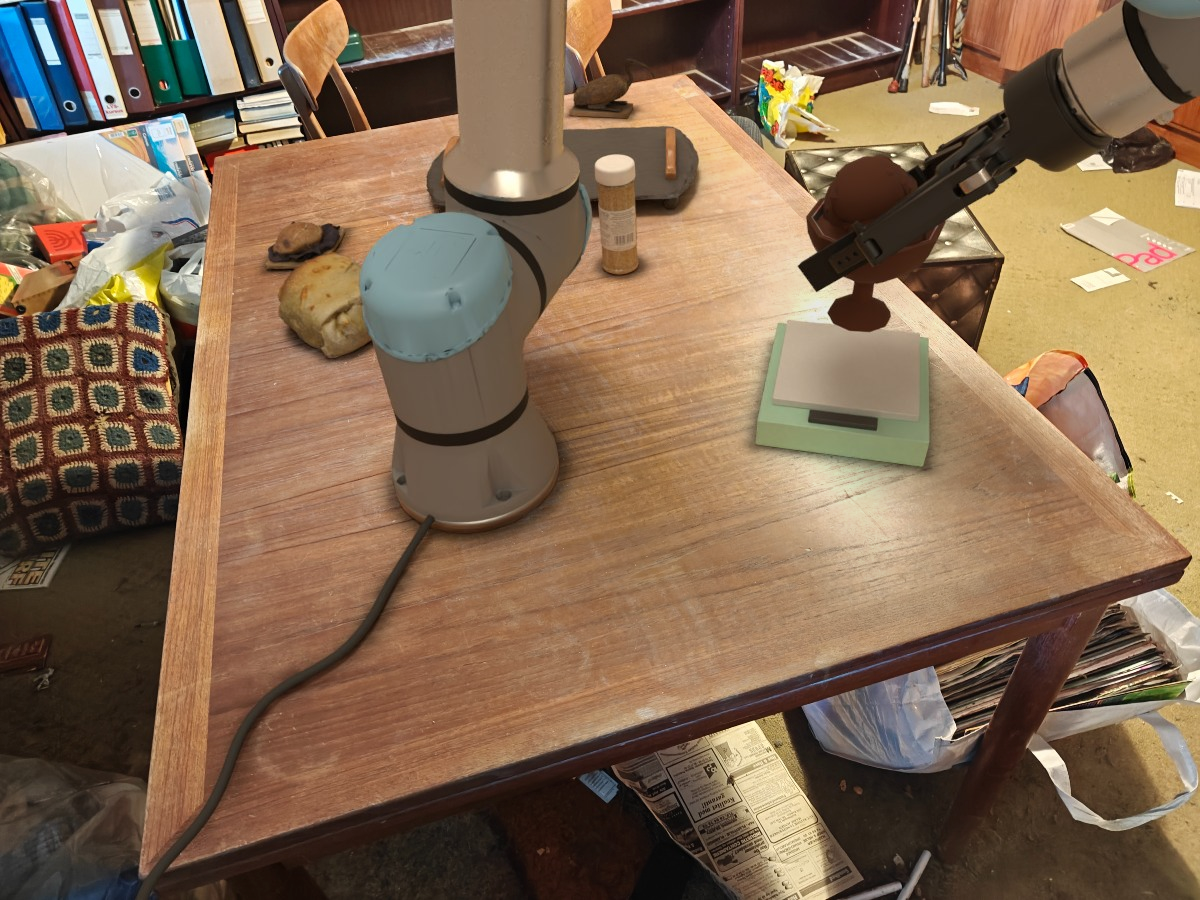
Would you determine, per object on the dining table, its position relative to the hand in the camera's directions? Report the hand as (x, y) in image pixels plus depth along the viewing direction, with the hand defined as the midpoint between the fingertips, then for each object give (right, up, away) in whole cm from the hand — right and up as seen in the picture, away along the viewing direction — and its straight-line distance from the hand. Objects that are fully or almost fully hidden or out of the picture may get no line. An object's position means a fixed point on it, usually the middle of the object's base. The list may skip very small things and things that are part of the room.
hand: (838, 245), depth 74 cm
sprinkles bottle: (-18, +5, +31) cm, 36 cm away
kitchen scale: (+3, -13, +10) cm, 17 cm away
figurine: (-18, +38, +67) cm, 79 cm away
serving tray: (-26, +21, +49) cm, 60 cm away
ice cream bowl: (+3, -6, +3) cm, 7 cm away
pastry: (-51, -3, +25) cm, 57 cm away
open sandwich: (-60, +8, +39) cm, 71 cm away
